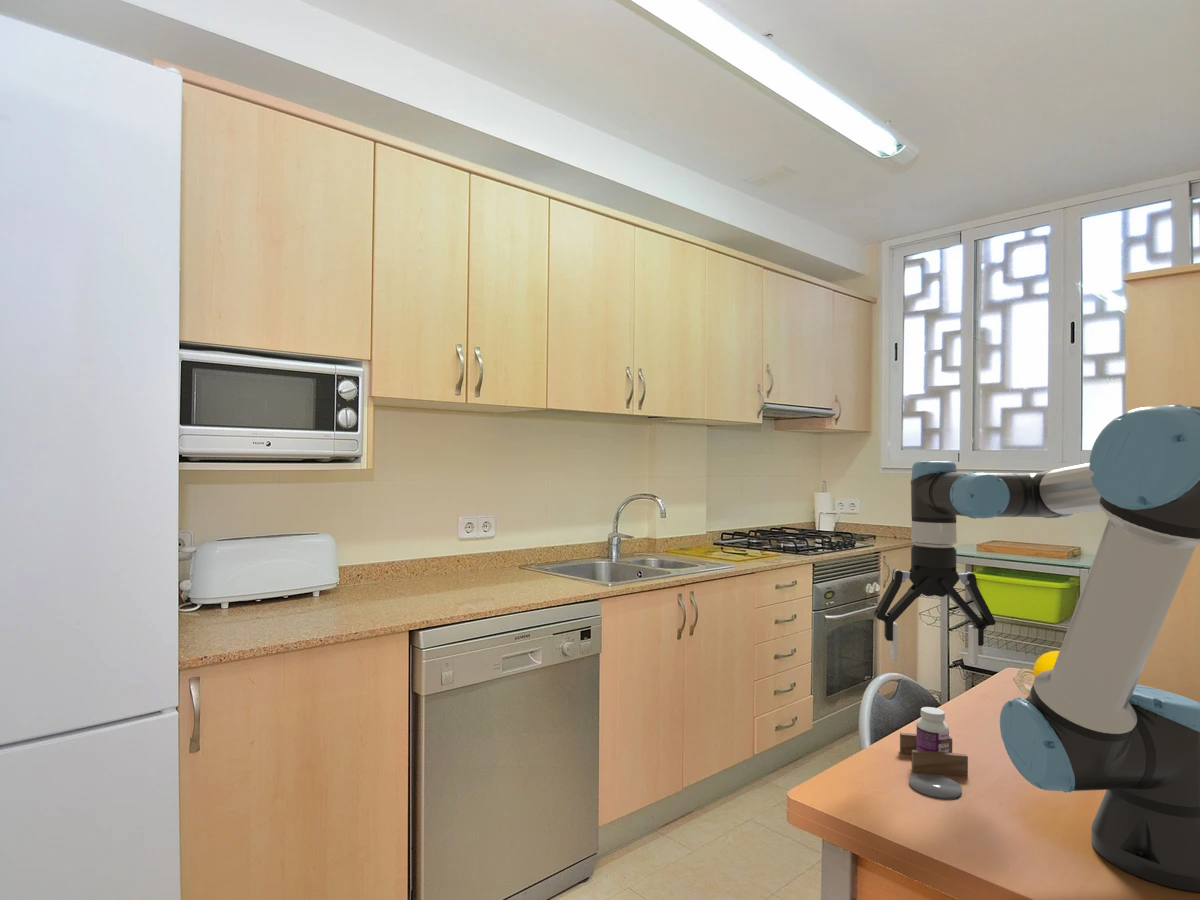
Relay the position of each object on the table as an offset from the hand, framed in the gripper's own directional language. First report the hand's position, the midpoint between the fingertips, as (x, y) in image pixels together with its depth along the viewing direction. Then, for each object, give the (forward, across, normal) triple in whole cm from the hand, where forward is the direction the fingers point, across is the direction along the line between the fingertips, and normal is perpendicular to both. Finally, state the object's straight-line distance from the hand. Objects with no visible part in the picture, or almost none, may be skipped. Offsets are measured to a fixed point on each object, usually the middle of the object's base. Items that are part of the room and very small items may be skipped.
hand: (933, 661), depth 126 cm
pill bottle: (+19, 0, 0) cm, 19 cm away
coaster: (+19, +3, +10) cm, 21 cm away
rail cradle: (+18, 0, 0) cm, 19 cm away
